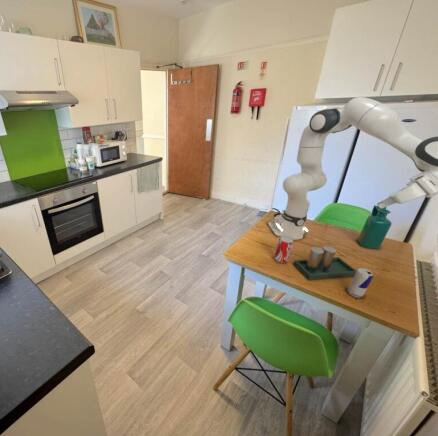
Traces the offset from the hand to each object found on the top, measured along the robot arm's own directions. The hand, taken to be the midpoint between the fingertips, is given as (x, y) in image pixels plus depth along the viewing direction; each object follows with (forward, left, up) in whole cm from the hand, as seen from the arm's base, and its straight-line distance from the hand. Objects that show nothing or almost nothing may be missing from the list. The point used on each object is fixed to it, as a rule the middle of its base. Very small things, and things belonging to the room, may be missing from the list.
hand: (378, 206), depth 94 cm
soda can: (-17, -21, -38) cm, 47 cm away
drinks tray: (-7, -5, -38) cm, 39 cm away
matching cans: (-7, -9, -37) cm, 39 cm away
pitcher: (-25, +35, -38) cm, 57 cm away
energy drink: (+9, -3, -38) cm, 39 cm away
